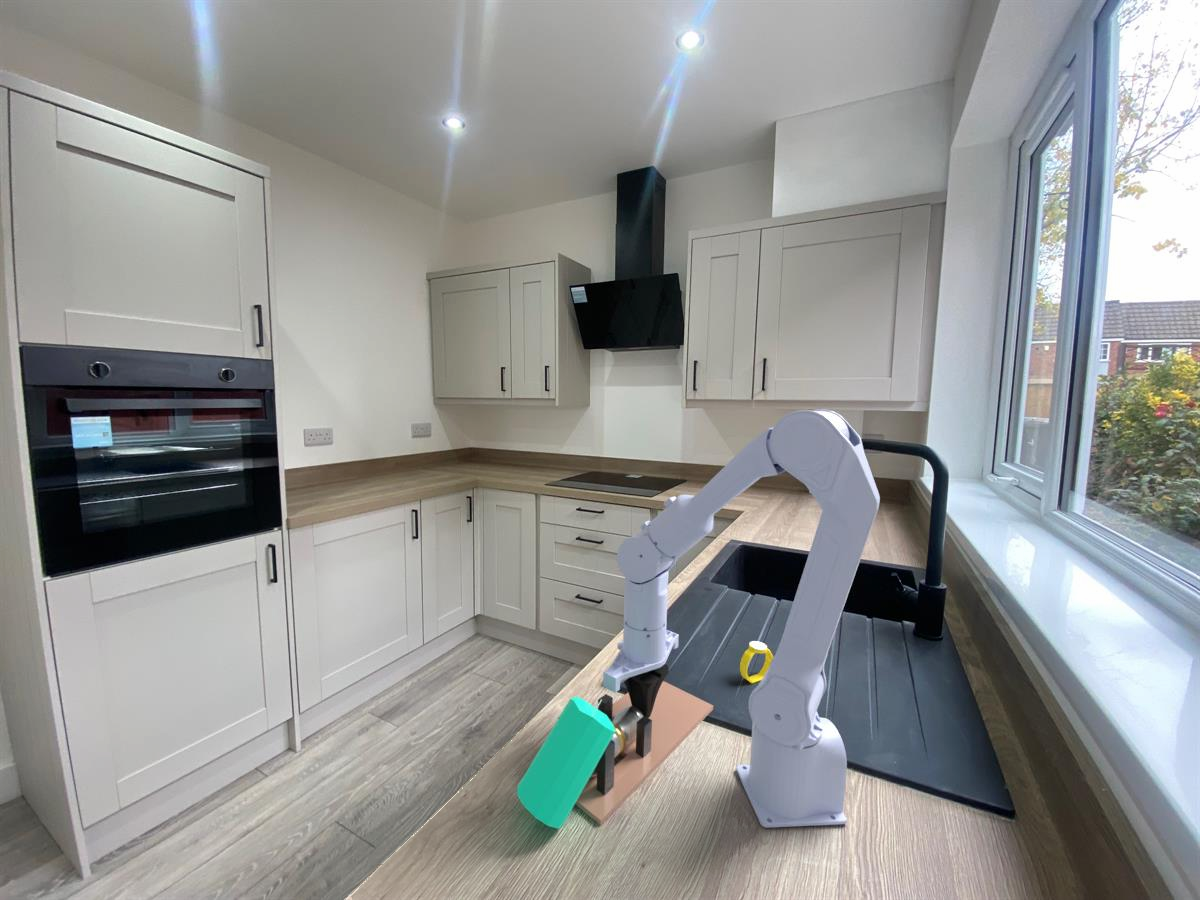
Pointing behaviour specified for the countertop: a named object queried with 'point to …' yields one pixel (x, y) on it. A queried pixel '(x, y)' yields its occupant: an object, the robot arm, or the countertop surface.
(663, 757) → the plate
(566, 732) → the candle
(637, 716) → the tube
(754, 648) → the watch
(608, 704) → the black upright posts
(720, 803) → the countertop surface
